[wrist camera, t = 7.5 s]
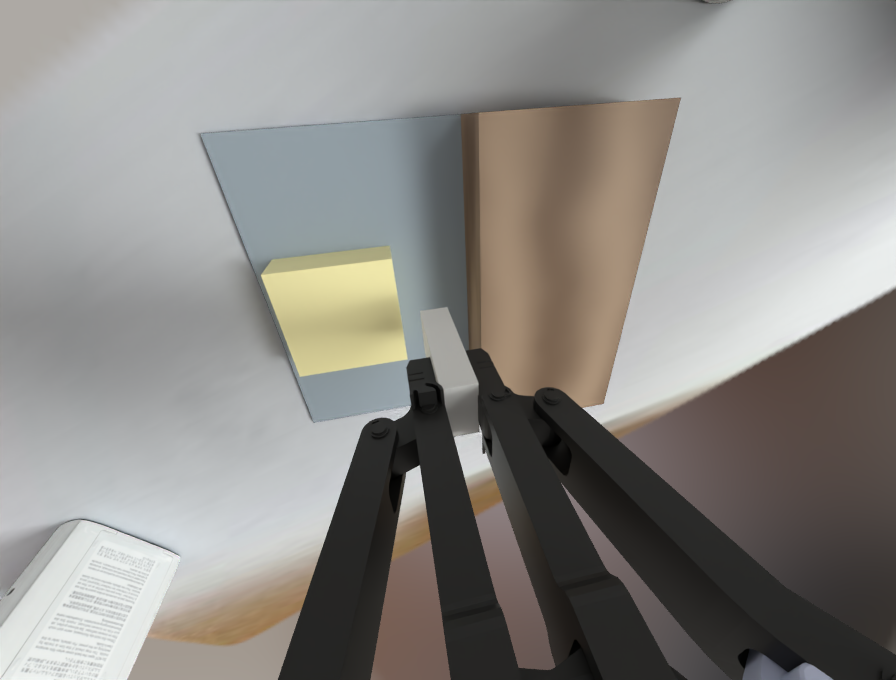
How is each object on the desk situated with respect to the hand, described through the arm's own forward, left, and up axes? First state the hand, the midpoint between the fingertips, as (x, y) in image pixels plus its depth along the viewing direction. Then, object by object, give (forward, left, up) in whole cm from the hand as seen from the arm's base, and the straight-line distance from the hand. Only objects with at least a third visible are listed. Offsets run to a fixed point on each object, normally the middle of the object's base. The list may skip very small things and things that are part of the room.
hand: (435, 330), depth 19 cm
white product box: (+30, +21, -6) cm, 37 cm away
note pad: (+5, 0, -3) cm, 6 cm away
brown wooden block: (-8, 0, -5) cm, 10 cm away
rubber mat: (+3, 0, -5) cm, 6 cm away
